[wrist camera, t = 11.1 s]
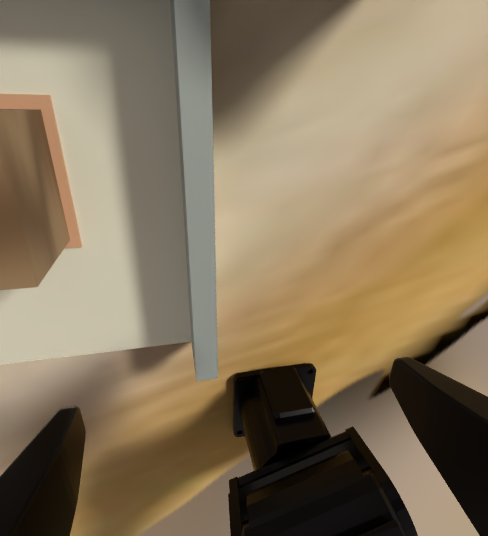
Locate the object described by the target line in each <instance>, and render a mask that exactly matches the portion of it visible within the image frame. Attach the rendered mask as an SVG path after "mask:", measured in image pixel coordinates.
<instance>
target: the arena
mask: <svg viewBox="0 0 488 536" xmlns="http://www.w3.org/2000/svg"><path fill="white" fill-rule="evenodd" d="M0 109H41V112H42V117H43V121H44V126H45V130H46V135H47V139H48V144H49V148H50V153H51V157H52V162H53V166H54V170H55V175H56V179H57V184H58V188H59V193H60V197H61V202H62V206H63V211H64V215H65V220H66V224H67V229H68V233H69V237H70V241H69V242H68V244H67V245H66V247H65V248H64V250H63V251H62V252H61V254H60V255H59V257H58V258H57V260H56V261H55V263H54V264H53V265H52V267H51V268H50V270H49V271H48V273H47V274H46V276H45V277H44V278H43V280H42V281H41V283H40V284H39V286H38V287H34V288H21V289H9V290H0V365H4V364H12V363H20V362H28V361H37V360H45V359H53V358H61V357H70V356H78V355H86V354H95V353H103V352H111V351H119V350H128V349H136V348H144V347H152V346H161V345H169V344H177V343H186V342H192V349H193V357H194V365H195V374H196V381H202V380H209V379H216V378H218V356H217V308H216V260H215V212H214V164H213V116H212V68H211V20H210V0H0Z"/></svg>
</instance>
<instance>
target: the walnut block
mask: <svg viewBox="0 0 488 536" xmlns="http://www.w3.org/2000/svg"><path fill="white" fill-rule="evenodd" d="M69 241H70V237H69V233H68V229H67V224H66V220H65V215H64V211H63V206H62V202H61V197H60V193H59V188H58V184H57V179H56V175H55V170H54V166H53V162H52V157H51V153H50V148H49V144H48V139H47V135H46V130H45V126H44V121H43V117H42V112H41V109H0V290H9V289H21V288H34V287H38V286H39V284H40V283H41V281H42V280H43V278H44V277H45V276H46V274H47V273H48V271H49V270H50V268H51V267H52V265H53V264H54V263H55V261H56V260H57V258H58V257H59V255H60V254H61V252H62V251H63V250H64V248H65V247H66V245H67V244H68V242H69Z"/></svg>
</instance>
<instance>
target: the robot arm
mask: <svg viewBox="0 0 488 536" xmlns="http://www.w3.org/2000/svg"><path fill="white" fill-rule="evenodd" d="M308 370H309V371H308ZM315 375H316V368H315V367H314V365H313V364H311V363H308V364H301V365H294V366H287V367H280V368H274V369H267V370H260V371H253V372H246V373H239V374H237V375H235V377H234V379H233V432H234V435H235V436H236V437H241V436H245V437H246V441H247V445H248V449H249V453H250V457H251V460H252V465H253V469H254V471H253V472H251V473H248V474H246V475H244V476H241V477H239V478H238V477H235V478H233V479H230V480H229V488H230V493H229V494H228V497H229V513H230V529H231V536H418V535H417V532H416V529H415V526H414V524H413V522H412V520H411V517H410V515H409V513H408V511H407V509H406V507H405V505H404V503H403V501H402V499H401V498H400V495H399V494H398V492H397V490H396V488H395V487H394V485H393V483H392V482H391V480H390V478H389V477H388V475H387V474H386V472H385V471H384V469H383V468H382V467H381V465H380V464H379V462H378V461H377V460H376V458H375V457H374V455H373V454H372V453H371V451H370V450H369V448H368V447H367V445H366V444H365V443H364V441H363V440H362V438H361V437H360V435H359V434H358V433H357V431H356V430H355V428H354V427H350V428H348V429H346V431H345V432H343V433H340V434H338V435H336V436H333V437H331V435H330V433H329V431H328V430H327V428H326V425H325V424H324V422H323V420H322V418H321V416H320V414H319V412H318V410H317V408H316V406H315V404H314V402H313V400H312V395H313V389H314V382H315ZM239 380H241V381H239ZM389 384H390V387H391V389H392V391H393V393H394V394H395V397H396V398H397V400H398V402H399V404H400V406H401V408H402V410H403V412H404V414H405V416H406V418H407V420H408V422H409V424H410V425H411V427H412V429H413V431H414V433H415V434H416V436H417V438H418V439H419V441H420V443H421V444H422V446H423V447H424V449H425V450H426V452H427V454H428V455H429V457H430V458H431V460H432V461H433V463H434V465H435V466H436V468H437V469H438V471H439V472H440V474H441V475H442V477H443V479H444V480H445V482H446V483H447V485H448V487H449V488H450V490H451V491H452V493H453V494H454V496H455V497H456V499H457V501H458V502H459V503H460V505H461V507H462V508H463V510H464V512H465V513H466V515H467V516H468V518H469V519H470V521H471V523H472V524H473V526H474V527H475V529H476V530H477V532H478V533H479V535H480V536H488V397H487V396H485V395H483V394H481V393H479V392H477V391H475V390H473V389H471V388H469V387H467V386H465V385H463V384H461V383H459V382H457V381H455V380H453V379H451V378H449V377H447V376H445V375H443V374H441V373H439V372H437V371H436V370H434V369H431V368H429V367H428V366H426V365H424V364H422V363H420V362H418V361H416V360H414V359H412V358H409V357H403V358H397V359H395V360H394V362H393V366H392V369H391V373H390V376H389ZM84 444H85V426H84V422H83V419H82V415H81V412H80V409H79V407H77V406H74V407H67V408H62V409H60V410H59V411H58V412H57V413H56V414H55V415H54V416H53V417H52V418H51V420H50V421H49V422H48V423H47V424H46V425H45V426H44V427H43V429H42V430H41V431H40V432H39V433H38V434H37V435H36V437H35V438H34V439H33V440H32V441H31V442H30V443H29V444H28V446H27V447H26V448H25V449H24V450H23V451H22V452H21V453H20V455H19V456H18V457H17V458H16V459H15V460H14V461H13V463H12V464H11V465H10V466H9V467H8V468H7V469H6V470H5V472H4V473H3V474H2V475H1V476H0V536H70V532H71V528H72V524H73V519H74V515H75V510H76V505H77V500H78V493H79V485H80V477H81V469H82V461H83V453H84Z"/></svg>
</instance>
